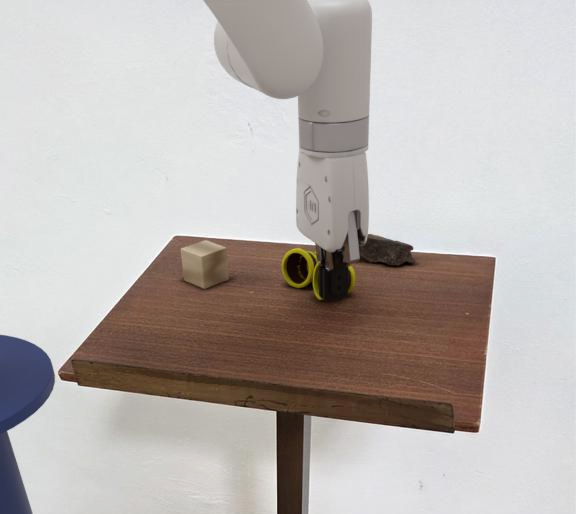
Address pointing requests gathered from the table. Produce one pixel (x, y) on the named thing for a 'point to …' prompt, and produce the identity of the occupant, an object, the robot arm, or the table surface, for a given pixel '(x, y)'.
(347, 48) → the robot arm
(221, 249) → the pale wood block
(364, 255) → the rock
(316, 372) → the table surface
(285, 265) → the opera glasses
